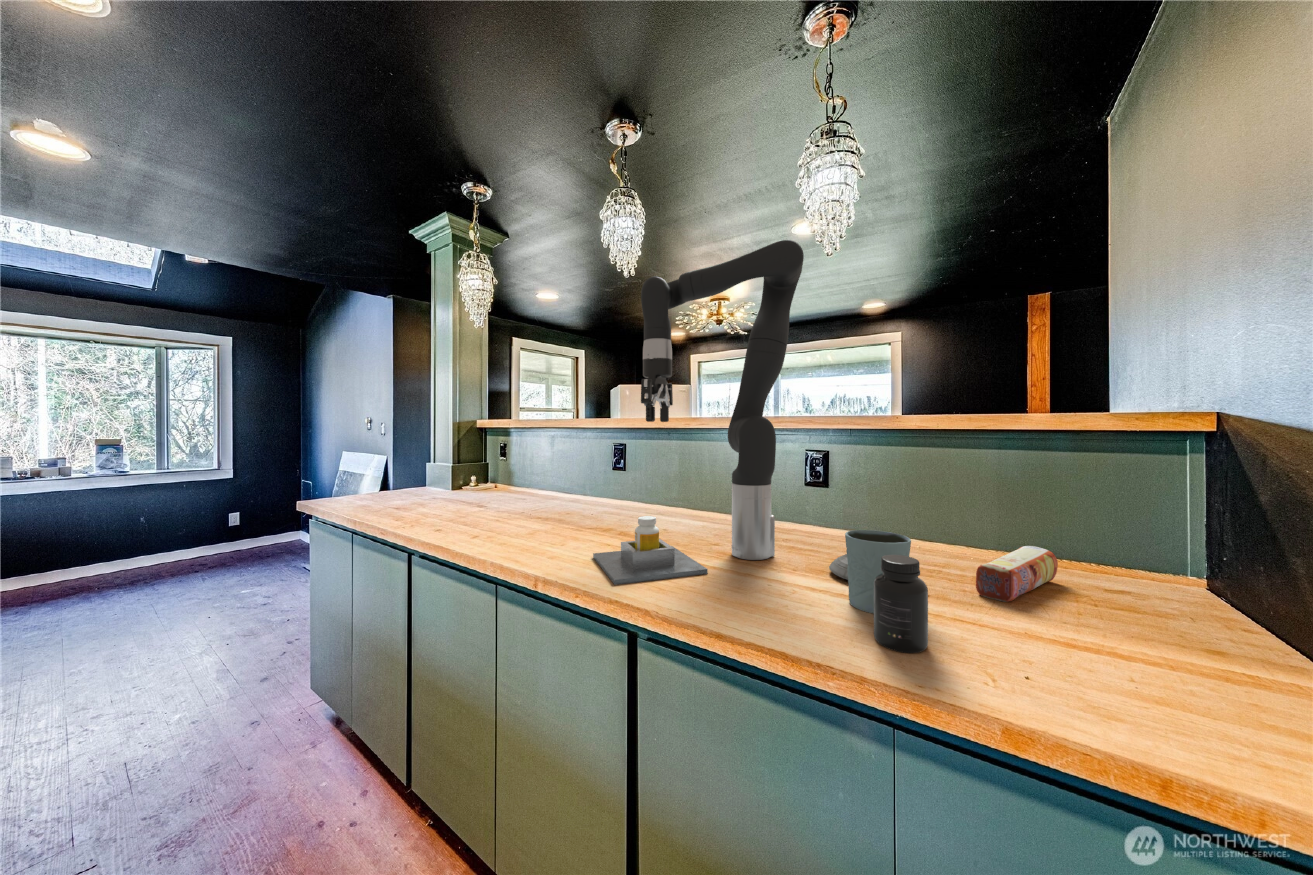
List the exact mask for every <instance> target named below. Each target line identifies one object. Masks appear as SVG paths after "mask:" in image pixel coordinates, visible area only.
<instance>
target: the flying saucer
mask: <svg viewBox="0 0 1313 875" xmlns="http://www.w3.org/2000/svg"><path fill="white" fill-rule="evenodd" d="M847 568H848V560H847V553H845V554H843V555H840V556H838V557H836V558H835V559H834V560H833V561H831V563H830V564H829V566H828V569H829V570H830V572H831V573H832V574H834V575H835V576H837V577H839V578H841V579H843V580H847V581H848V580H849V579H848V571H847Z"/></svg>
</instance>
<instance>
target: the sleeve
mask: <svg viewBox="0 0 1313 875" xmlns="http://www.w3.org/2000/svg"><path fill="white" fill-rule="evenodd" d="M592 559H593V560H595V562H596V563H597V564H598V566H599V567H600V568H601V570H602V571H603V572H604V574H606V576H607V577H608V578H609V580H610V581H611V582H612V584H613V585H614V586H619V585H626V584H634V583H644V582H652V581H659V580H668V579H674V578H675V579H676V578H684V577H692V576H700V575H707V574H708V572H709V571H708V568H707V567H705V566H704V565H702V564H700V563H699V562H697V561H696V560H695V559H693V558H691V557H690V556H689V555H687V554H686V553H684V552H682V551H681V550H679V549H678V548H676V547H675V546H673V545H670V544H668V543H667V542H666V541H664V540H663V539H661V538H659V548H658V549H647V550H635V540H629V541H628V540H627V541H620V550H615V551H605V552H594V553H592Z"/></svg>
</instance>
